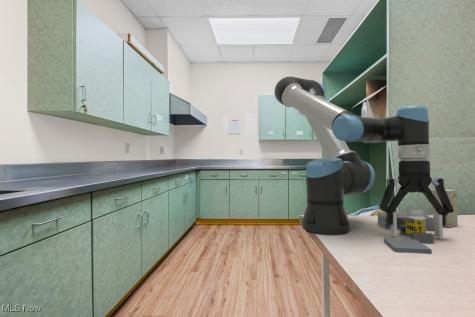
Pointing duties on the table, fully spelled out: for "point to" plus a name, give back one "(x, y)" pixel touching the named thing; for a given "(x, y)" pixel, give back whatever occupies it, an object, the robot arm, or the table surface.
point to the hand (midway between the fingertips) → (415, 236)
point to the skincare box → (452, 195)
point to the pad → (407, 245)
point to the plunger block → (403, 221)
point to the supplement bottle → (415, 221)
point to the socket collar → (419, 235)
